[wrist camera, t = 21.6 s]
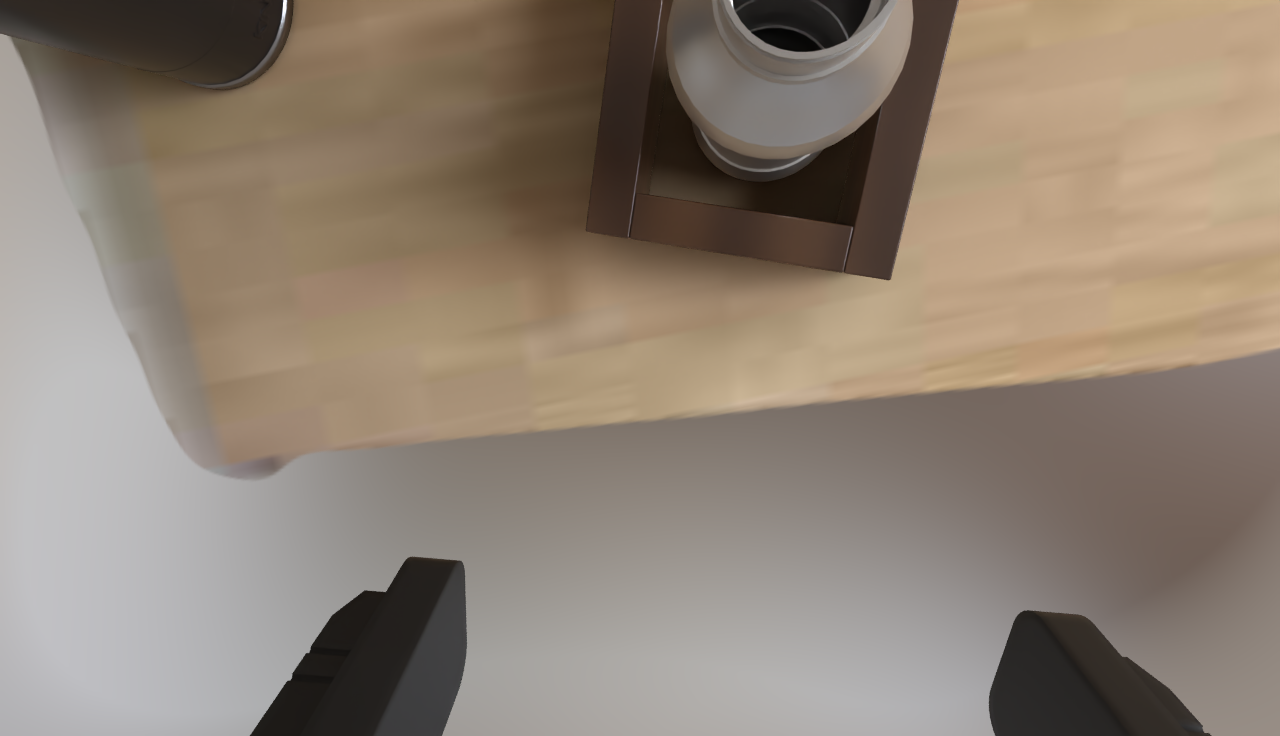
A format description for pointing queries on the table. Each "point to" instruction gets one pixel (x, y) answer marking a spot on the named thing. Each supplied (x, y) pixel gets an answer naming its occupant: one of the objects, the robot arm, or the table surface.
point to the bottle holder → (845, 246)
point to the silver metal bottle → (782, 75)
